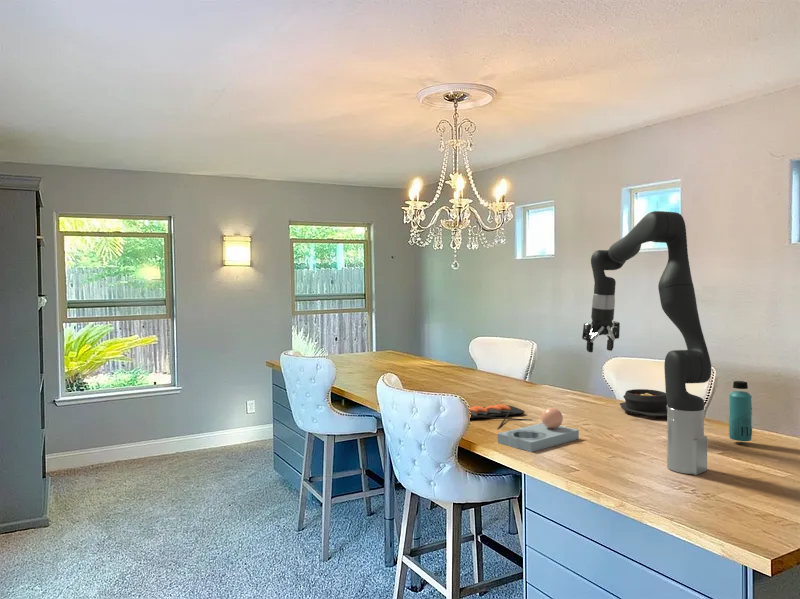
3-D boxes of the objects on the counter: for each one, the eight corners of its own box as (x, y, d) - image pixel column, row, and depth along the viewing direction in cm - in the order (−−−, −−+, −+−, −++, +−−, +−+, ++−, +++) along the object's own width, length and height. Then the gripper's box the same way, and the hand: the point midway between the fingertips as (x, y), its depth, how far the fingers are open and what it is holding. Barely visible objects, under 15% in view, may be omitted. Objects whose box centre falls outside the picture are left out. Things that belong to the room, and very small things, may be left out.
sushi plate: (509, 409, 246) (509, 400, 246) (549, 425, 218) (549, 415, 218) (445, 415, 237) (445, 405, 237) (478, 432, 208) (478, 422, 208)
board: (578, 438, 197) (578, 429, 197) (530, 452, 182) (530, 442, 182) (545, 430, 208) (545, 422, 208) (497, 442, 194) (497, 433, 193)
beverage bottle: (740, 446, 185) (740, 383, 185) (723, 441, 192) (724, 380, 191) (757, 445, 187) (757, 382, 187) (739, 439, 194) (740, 379, 193)
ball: (567, 428, 199) (567, 408, 199) (553, 432, 195) (553, 410, 194) (550, 424, 204) (550, 404, 204) (537, 428, 200) (537, 407, 200)
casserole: (687, 419, 223) (687, 397, 222) (641, 421, 220) (641, 399, 220) (650, 406, 247) (650, 386, 247) (608, 407, 245) (608, 387, 244)
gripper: (593, 309, 202) (590, 355, 205) (626, 307, 207) (623, 352, 210) (579, 305, 209) (576, 350, 212) (612, 303, 214) (608, 347, 217)
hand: (599, 351), depth 211 cm, fingers open, 8 cm apart
